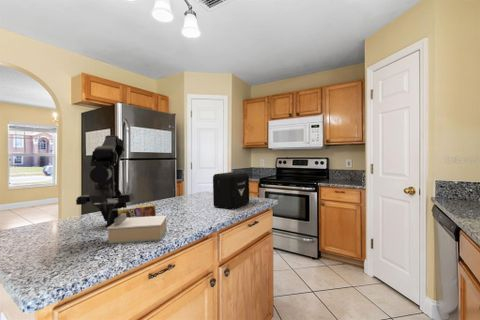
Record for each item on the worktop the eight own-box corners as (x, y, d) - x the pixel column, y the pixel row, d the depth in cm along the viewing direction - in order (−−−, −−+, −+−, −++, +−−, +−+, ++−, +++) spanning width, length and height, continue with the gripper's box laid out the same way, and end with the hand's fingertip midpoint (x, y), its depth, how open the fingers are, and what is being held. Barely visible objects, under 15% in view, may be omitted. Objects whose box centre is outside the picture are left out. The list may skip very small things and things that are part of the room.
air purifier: (233, 210, 132) (232, 175, 131) (213, 207, 139) (212, 174, 139) (251, 203, 148) (250, 172, 148) (232, 201, 156) (231, 172, 156)
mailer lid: (107, 229, 83) (106, 221, 83) (120, 219, 97) (120, 212, 97) (160, 226, 86) (160, 218, 86) (167, 216, 99) (166, 209, 99)
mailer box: (108, 243, 84) (108, 229, 84) (121, 232, 97) (121, 220, 96) (160, 240, 86) (160, 226, 86) (166, 229, 99) (166, 217, 99)
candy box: (156, 224, 106) (118, 231, 98) (154, 222, 110) (118, 228, 102) (155, 205, 106) (118, 210, 98) (153, 203, 110) (117, 208, 102)
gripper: (66, 183, 80) (67, 229, 80) (123, 182, 83) (125, 225, 83) (83, 180, 91) (84, 220, 91) (133, 179, 94) (134, 217, 94)
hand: (106, 220), depth 90 cm, fingers closed
